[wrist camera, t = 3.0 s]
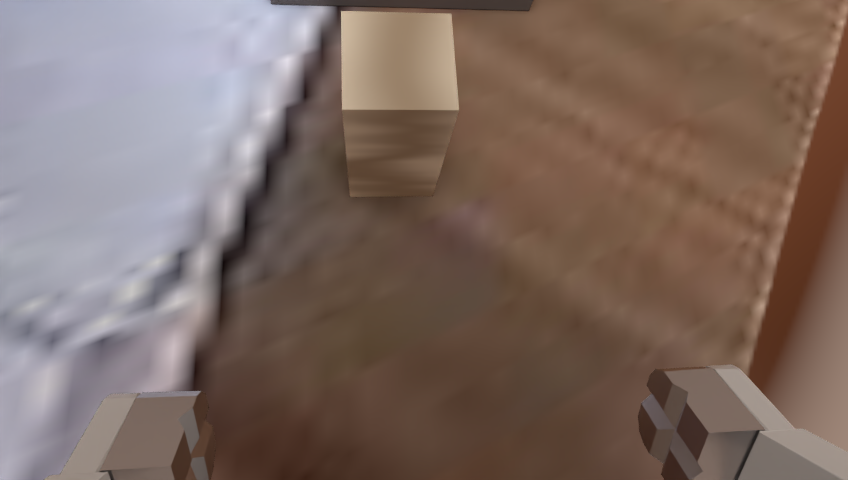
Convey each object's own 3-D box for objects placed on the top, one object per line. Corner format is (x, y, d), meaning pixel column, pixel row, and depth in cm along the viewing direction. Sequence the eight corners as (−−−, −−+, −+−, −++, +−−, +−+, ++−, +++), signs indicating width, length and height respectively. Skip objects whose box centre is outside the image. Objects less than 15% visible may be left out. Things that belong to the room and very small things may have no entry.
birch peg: (350, 197, 26) (342, 109, 18) (349, 122, 27) (341, 10, 19) (433, 196, 26) (458, 110, 19) (428, 122, 27) (451, 13, 20)
